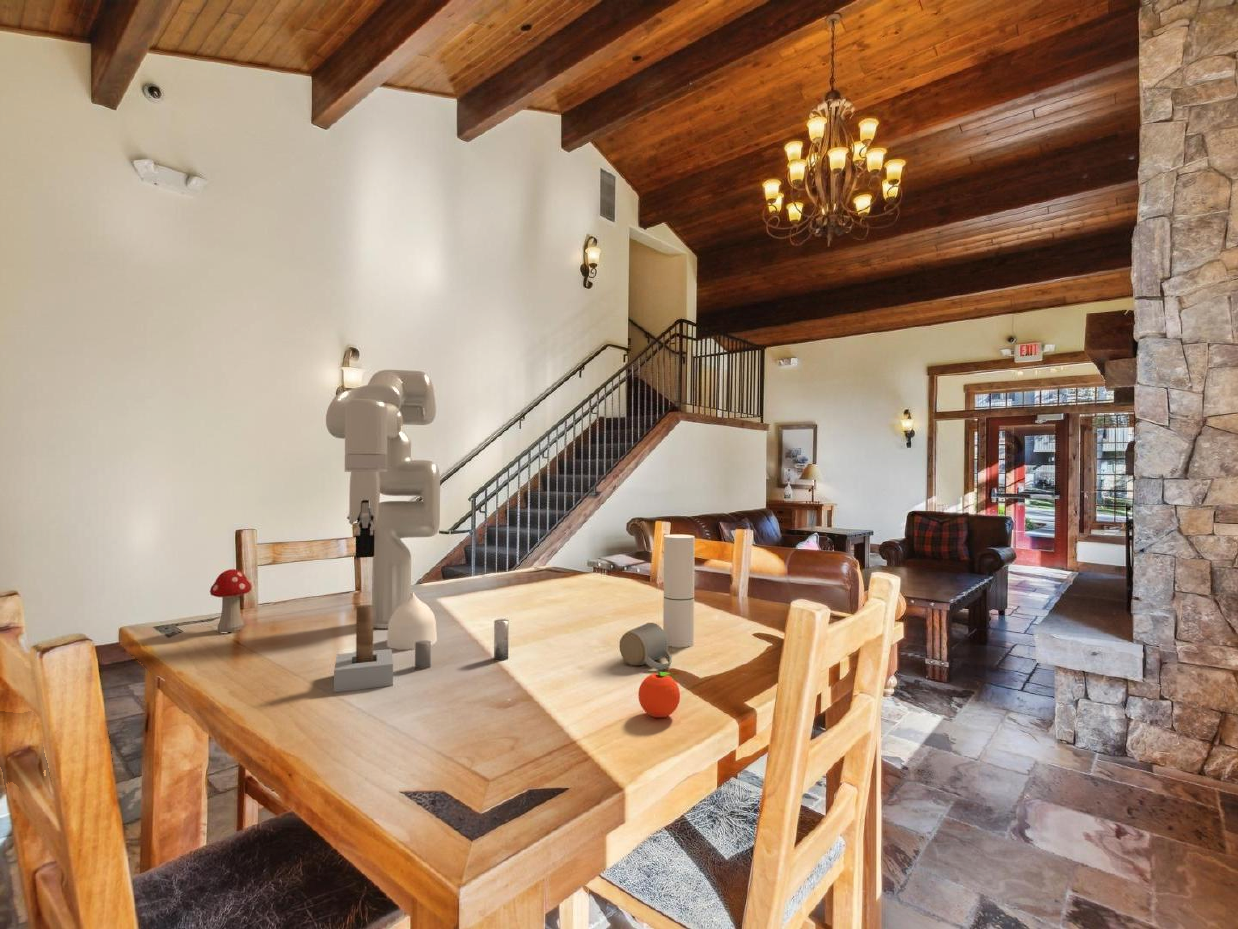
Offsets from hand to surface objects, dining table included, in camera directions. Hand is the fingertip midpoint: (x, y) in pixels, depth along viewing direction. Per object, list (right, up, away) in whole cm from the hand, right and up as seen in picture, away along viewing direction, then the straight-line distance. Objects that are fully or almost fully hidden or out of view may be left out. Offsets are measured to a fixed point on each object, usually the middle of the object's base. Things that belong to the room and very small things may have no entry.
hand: (365, 553), depth 117 cm
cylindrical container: (+63, -25, +26) cm, 72 cm away
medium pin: (+23, -24, +14) cm, 36 cm away
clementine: (+56, -25, -15) cm, 63 cm away
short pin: (+9, -24, +8) cm, 27 cm away
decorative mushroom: (-47, -24, +34) cm, 63 cm away
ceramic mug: (+55, -25, +11) cm, 61 cm away
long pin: (0, -24, 0) cm, 24 cm away
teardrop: (+1, -25, +25) cm, 35 cm away
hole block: (0, -24, 0) cm, 24 cm away
